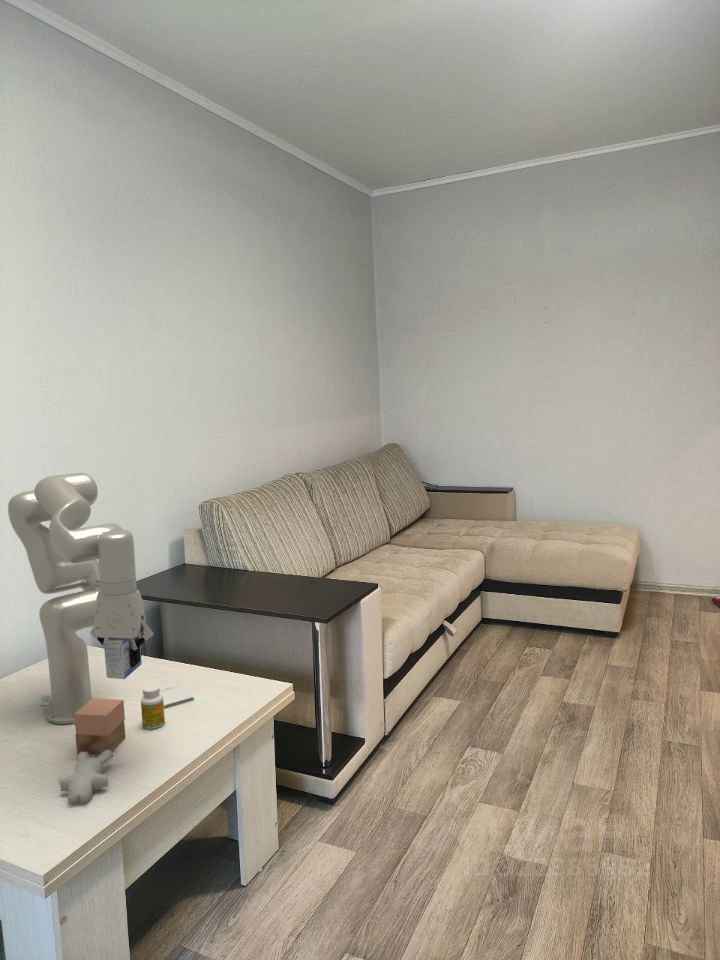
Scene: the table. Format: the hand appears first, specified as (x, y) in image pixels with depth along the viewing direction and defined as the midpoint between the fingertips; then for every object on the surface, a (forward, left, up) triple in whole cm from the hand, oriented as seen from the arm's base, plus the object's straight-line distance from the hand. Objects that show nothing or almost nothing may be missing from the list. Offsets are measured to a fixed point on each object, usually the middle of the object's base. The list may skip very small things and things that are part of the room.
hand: (123, 663), depth 156 cm
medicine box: (0, 0, -2) cm, 2 cm away
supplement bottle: (-1, +15, -23) cm, 28 cm away
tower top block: (-9, +4, -18) cm, 21 cm away
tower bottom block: (-10, +4, -23) cm, 25 cm away
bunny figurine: (-4, -11, -23) cm, 26 cm away
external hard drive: (-3, +31, -23) cm, 39 cm away
